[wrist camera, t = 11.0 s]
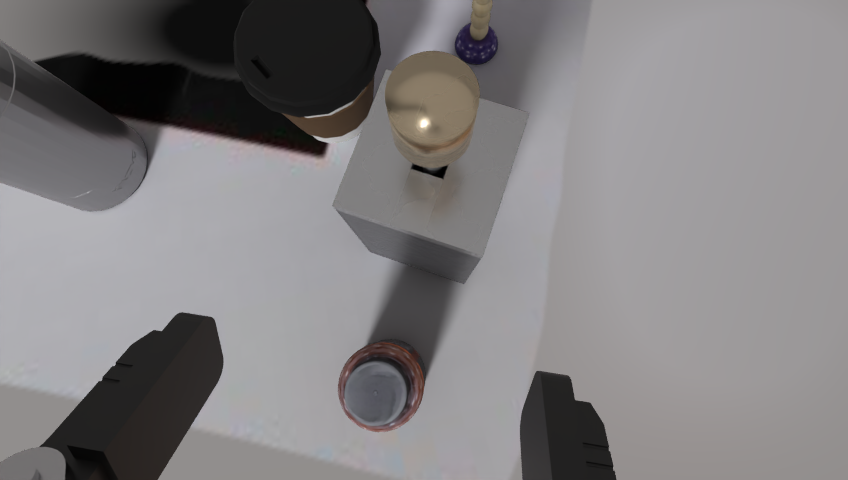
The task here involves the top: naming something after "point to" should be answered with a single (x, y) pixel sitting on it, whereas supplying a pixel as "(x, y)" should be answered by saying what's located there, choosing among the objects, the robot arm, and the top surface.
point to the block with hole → (429, 192)
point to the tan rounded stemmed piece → (432, 109)
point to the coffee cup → (310, 62)
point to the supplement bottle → (382, 385)
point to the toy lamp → (477, 35)
